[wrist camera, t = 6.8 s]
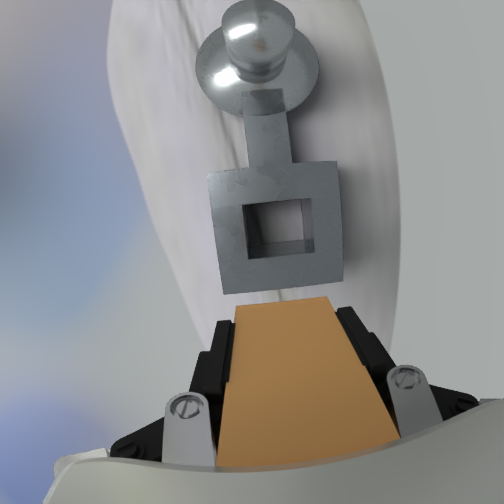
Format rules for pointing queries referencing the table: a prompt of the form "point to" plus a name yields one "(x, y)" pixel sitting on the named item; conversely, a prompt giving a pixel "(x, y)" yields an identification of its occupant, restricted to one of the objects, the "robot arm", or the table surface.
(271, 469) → the robot arm
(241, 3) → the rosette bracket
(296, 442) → the tan flared block
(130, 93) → the table surface
